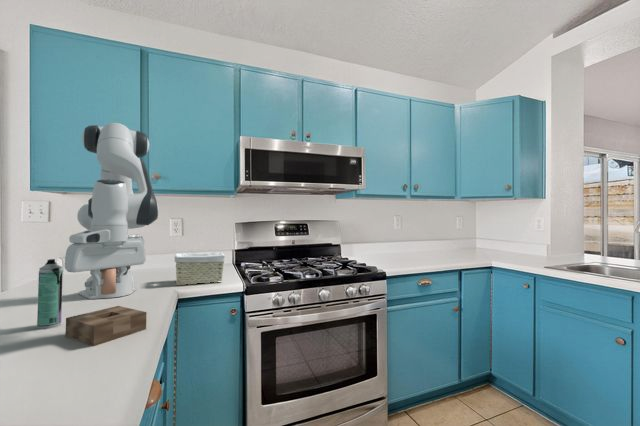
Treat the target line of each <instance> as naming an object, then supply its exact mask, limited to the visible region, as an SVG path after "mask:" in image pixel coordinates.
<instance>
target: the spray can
mask: <svg viewBox="0 0 640 426" xmlns="http://www.w3.org/2000/svg"><path fill="white" fill-rule="evenodd" d="M63 270H64V269H63V266H61V265H59V264H58V262H56V260H55V259H54V258H51V259H47V262H46V263H44V265H43V266H42V267H39V270H38V284H37V285H38V286H37V287H38V289H37V290H38V291H37V292H38V293H37V317H36V318H37V319H36V320H37V321H36V324H37V325H36V327H37V329H38V330H47V329H53V328H56V327H59V326H61V325H62V308H63V307H62V304H63V301H62V300H63V272H64V271H63Z"/></svg>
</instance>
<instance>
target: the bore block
mask: <svg viewBox="0 0 640 426" xmlns="http://www.w3.org/2000/svg"><path fill="white" fill-rule="evenodd" d="M145 330H147V311H143V310H139V309H134V308H130V307H127V306H126V307H124V306H121V305H117V306H112V307H111V306H110V307H107V308H103V309H99V310H96V311H90V312H86V313H81V314H77V315H73V316H69V317H66V318H65V337H66V336H67V338H69V337H70V338H69V339H72V338H73V339H72V340H75V339H76V341H78V340H79V341H78V342H81V341H82V342H81V343H84V344H87V345H90V346H93V347H95V346H98V345H101V344H104V343H107V342H111V341H113V340H118V339H119V338H123V337H127V336H129V335H132V334H135V333H138V332H142V331H145Z"/></svg>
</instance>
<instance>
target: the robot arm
mask: <svg viewBox="0 0 640 426" xmlns="http://www.w3.org/2000/svg"><path fill="white" fill-rule="evenodd" d="M81 141H82V144H83V146H84V149H85V150H87V151H88V152H90V153H93V154H96V159H97V161H98V164H100V179H98V180H96V181H95V182H94V185H93V188H92V189H93V190H92V195H91V197H90V198H89V199H88V203H87V204H83V205H82V206H81V207H80V208H79V209H78V212H77V214H76V215H77V221H78V224H79V225H80V226H81V227H83V228H85V229H86V230H84V231H81V232H77V233H75V234H74V233H73V234H71V235H70V236H69V238H68V239H69V242H70V243H71V244H69V245H68V246H67V249H66V251H65V256H64V257H65V258H64V269H65V270H66V272H68V273H80V272H81V273H82V272H83V273H84V272H88V271H89V274H90V276H89V277H88V278H87V279H86V281H85V282H84V287H85V289H84V290H80V291H78V295H80V296H81V297H84V298H85V299H88V300H95V299H97V300H98V299H111V298H118V297H124V296H125V297H126V296H129V295H131V294H133V293H134V292H135V291H137V290H136V287H134V277H133V272H132V271H131V270H130V269H131V267H132V266H140V265H144V263H145V262H146V250H145V249H146V248H145V238H144V237H143V236H141V235H140V234H128V230H133V229H138V228H139V229H140V228H143V227H145V226H149V225H151V224H152V223H154V222H155V221H156V220H158V217H159V213H160V208H159V203H158V201H157V198H156V195H155V193H154V190H153V186H152V182H151V178H150V175H149V171H148V169H147V166H146V164H145V162H144V161H143V160H142V159H141V158H144V157H145V156H146V155H147V154H148V152H149V150H150V141H149V138H148V135H147V134H146V133H144V132H143V131H139V130H132V129H130V128H128V126H126V125H124V124H122V123H120V122H109V123H106V124H105V125H103V126H98V125H96V124H94V125H93V124H92V125H88V126H86V127H85V128H84V130H83V132H82V134H81ZM133 181H134V182H135V183H136V187H137V191H138V193H135V194H134V190H133ZM108 268H116V293H114V294H107V295H102V294H101V285H104V283H103V282H104V279H101V271H102V269H108Z"/></svg>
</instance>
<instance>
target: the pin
mask: <svg viewBox="0 0 640 426" xmlns="http://www.w3.org/2000/svg"><path fill="white" fill-rule="evenodd" d="M101 279H104V282H103V283H104V285H101V294H102V295H107V294H114V293H116V268H108V269H102V271H101Z"/></svg>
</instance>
